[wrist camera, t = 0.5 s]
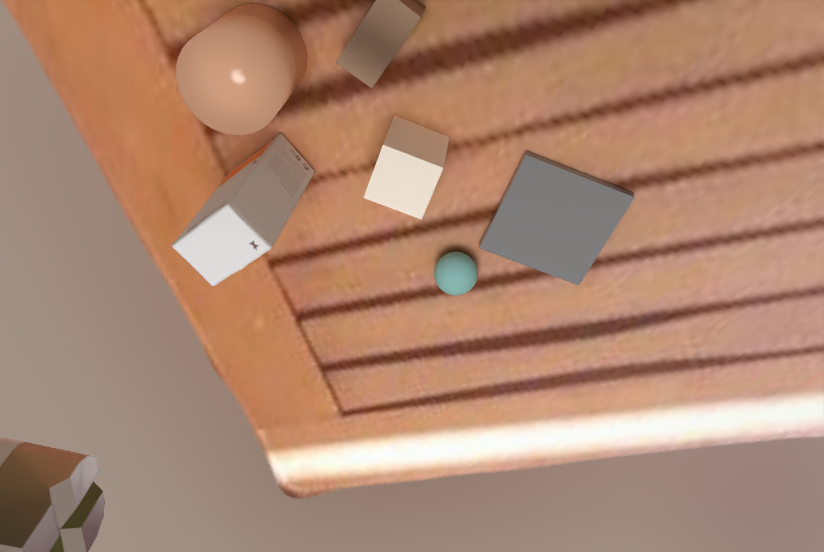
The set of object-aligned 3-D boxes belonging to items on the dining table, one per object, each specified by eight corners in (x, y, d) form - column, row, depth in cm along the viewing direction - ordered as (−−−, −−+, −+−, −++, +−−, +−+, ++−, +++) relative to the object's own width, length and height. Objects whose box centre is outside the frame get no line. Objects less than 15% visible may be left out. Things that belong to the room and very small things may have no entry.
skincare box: (280, 129, 54) (228, 202, 45) (316, 171, 56) (274, 249, 46) (228, 169, 57) (168, 246, 47) (264, 208, 59) (213, 289, 49)
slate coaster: (525, 150, 53) (525, 154, 52) (633, 192, 54) (634, 197, 53) (479, 242, 58) (479, 247, 57) (578, 280, 59) (578, 285, 58)
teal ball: (445, 237, 58) (441, 261, 55) (485, 252, 58) (483, 276, 55) (430, 270, 60) (425, 294, 57) (468, 284, 60) (466, 309, 57)
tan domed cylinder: (223, -13, 49) (184, 12, 43) (318, 25, 49) (292, 54, 44) (206, 78, 53) (169, 112, 47) (294, 112, 53) (267, 149, 48)
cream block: (394, 115, 53) (382, 144, 48) (449, 136, 53) (443, 167, 49) (376, 165, 55) (363, 197, 51) (429, 185, 56) (421, 219, 51)
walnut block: (390, -22, 47) (383, -12, 45) (425, 6, 48) (421, 17, 46) (344, 49, 50) (335, 62, 48) (378, 74, 51) (371, 88, 49)
